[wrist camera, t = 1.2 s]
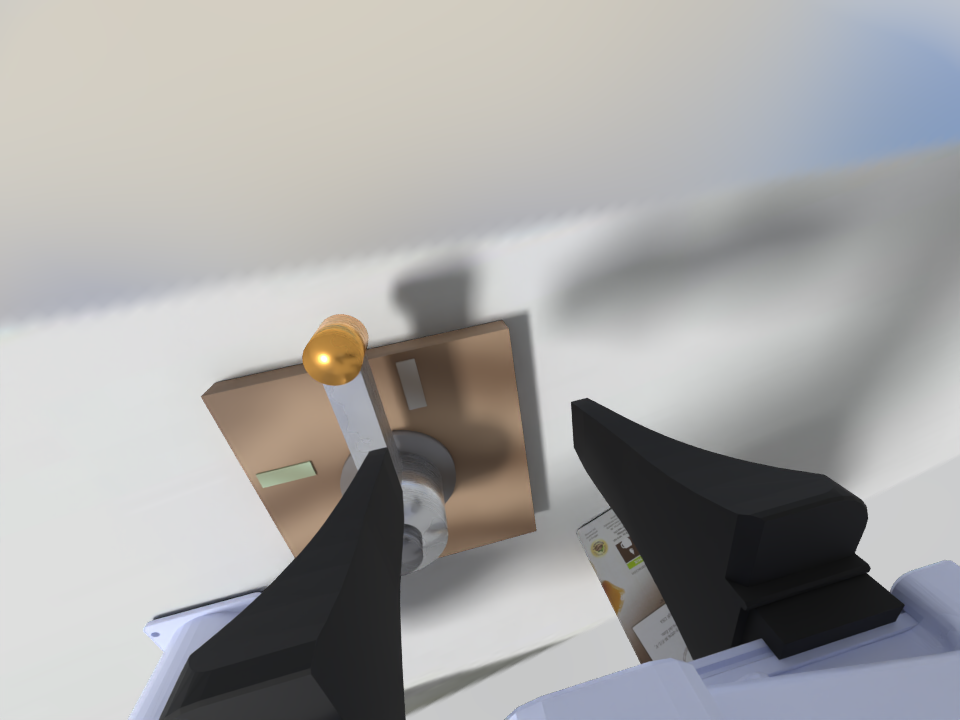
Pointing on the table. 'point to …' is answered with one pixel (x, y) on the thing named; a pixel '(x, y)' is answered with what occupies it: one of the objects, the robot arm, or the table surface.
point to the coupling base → (414, 424)
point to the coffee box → (632, 590)
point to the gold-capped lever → (377, 433)
